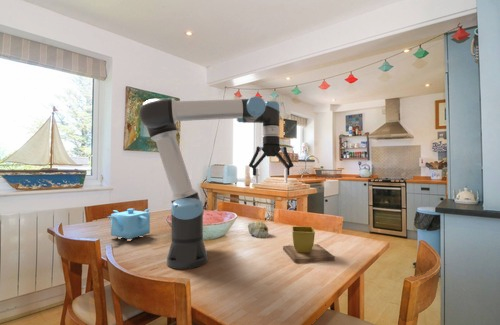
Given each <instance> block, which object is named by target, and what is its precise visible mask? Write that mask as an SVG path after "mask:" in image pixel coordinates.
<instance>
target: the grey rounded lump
mask: <svg viewBox="0 0 500 325" xmlns="http://www.w3.org/2000/svg"><path fill="white" fill-rule="evenodd" d="M247 228H248V233H249V234H250V235H251V236H254V237H256V238H259V239H265V238H268V237H269V227H268V226H267V224H266V223H264V222H263V221H252V222H248V224H247Z"/></svg>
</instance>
